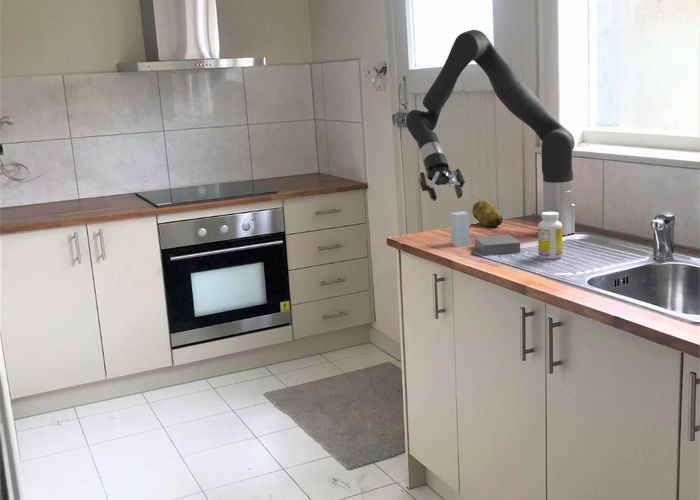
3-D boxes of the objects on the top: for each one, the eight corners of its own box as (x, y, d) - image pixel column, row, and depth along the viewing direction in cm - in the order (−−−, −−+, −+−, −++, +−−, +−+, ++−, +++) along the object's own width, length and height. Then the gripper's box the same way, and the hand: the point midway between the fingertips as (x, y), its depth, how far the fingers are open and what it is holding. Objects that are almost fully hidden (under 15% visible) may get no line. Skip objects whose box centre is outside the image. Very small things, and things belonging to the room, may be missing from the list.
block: (464, 242, 247) (463, 211, 245) (469, 245, 243) (469, 213, 241) (451, 243, 246) (450, 212, 244) (456, 246, 242) (455, 215, 240)
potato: (481, 229, 263) (480, 206, 261) (470, 222, 276) (469, 200, 274) (504, 227, 264) (504, 204, 262) (492, 220, 277) (492, 198, 275)
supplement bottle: (560, 253, 227) (560, 210, 224) (563, 259, 220) (564, 215, 217) (536, 254, 227) (536, 211, 224) (539, 260, 221) (539, 215, 218)
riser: (509, 244, 241) (509, 234, 241) (520, 252, 231) (520, 242, 230) (474, 246, 241) (474, 237, 240) (483, 255, 230) (483, 245, 229)
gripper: (416, 153, 254) (429, 193, 246) (456, 149, 257) (471, 189, 249) (411, 167, 260) (424, 207, 252) (451, 164, 264) (465, 202, 256)
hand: (447, 198), depth 251 cm, fingers open, 8 cm apart
